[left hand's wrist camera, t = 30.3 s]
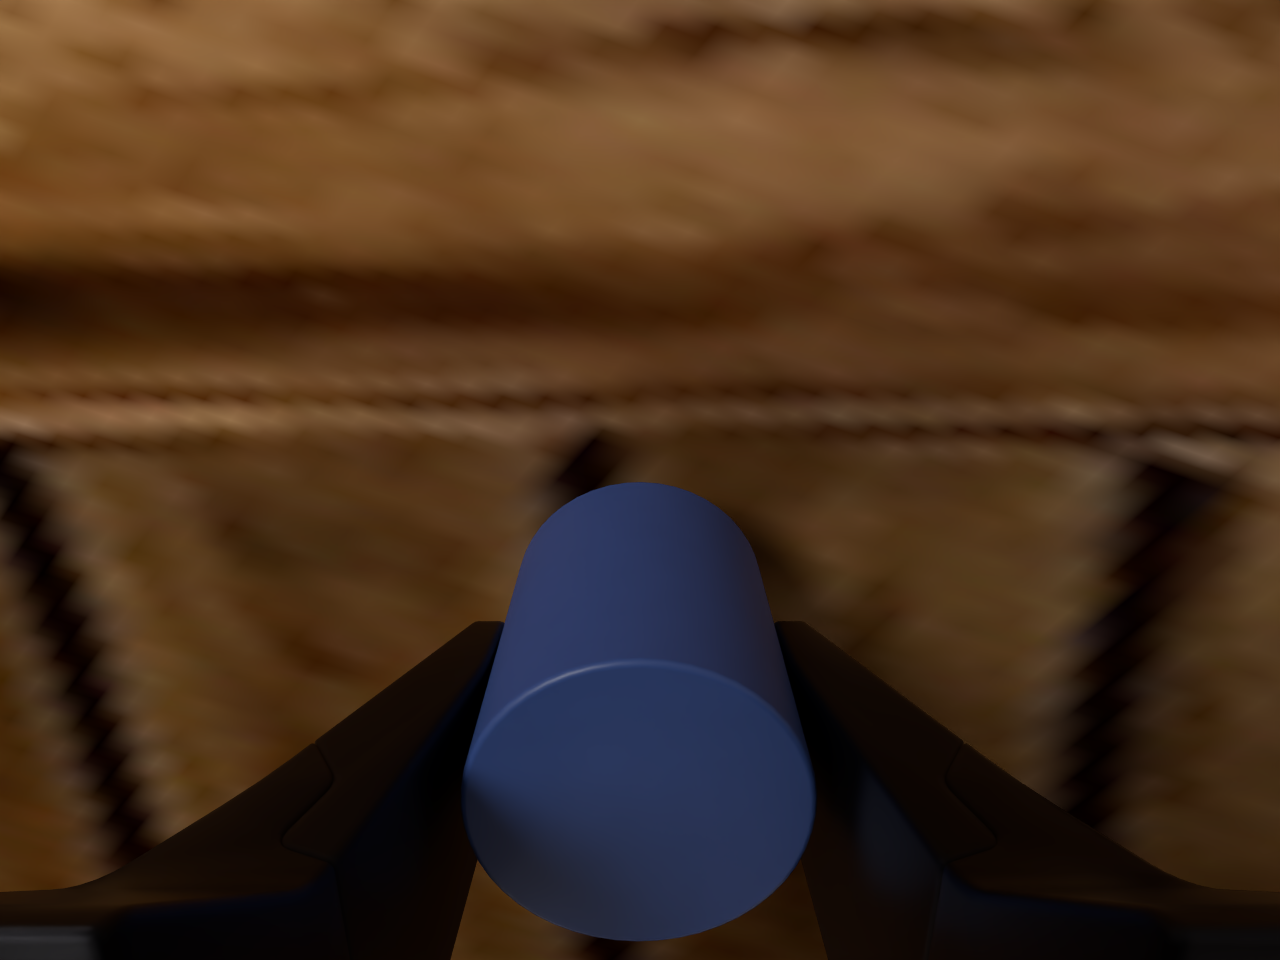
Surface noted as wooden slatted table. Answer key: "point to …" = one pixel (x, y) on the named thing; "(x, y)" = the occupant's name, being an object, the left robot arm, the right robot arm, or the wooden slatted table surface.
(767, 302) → the wooden slatted table surface
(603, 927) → the cylinder
